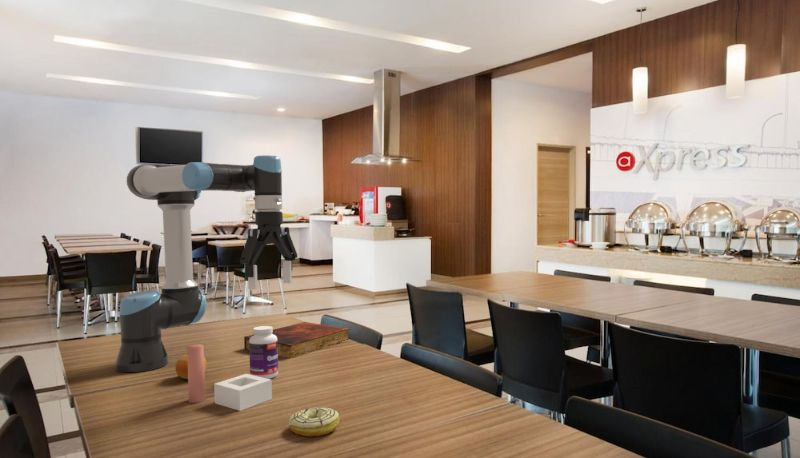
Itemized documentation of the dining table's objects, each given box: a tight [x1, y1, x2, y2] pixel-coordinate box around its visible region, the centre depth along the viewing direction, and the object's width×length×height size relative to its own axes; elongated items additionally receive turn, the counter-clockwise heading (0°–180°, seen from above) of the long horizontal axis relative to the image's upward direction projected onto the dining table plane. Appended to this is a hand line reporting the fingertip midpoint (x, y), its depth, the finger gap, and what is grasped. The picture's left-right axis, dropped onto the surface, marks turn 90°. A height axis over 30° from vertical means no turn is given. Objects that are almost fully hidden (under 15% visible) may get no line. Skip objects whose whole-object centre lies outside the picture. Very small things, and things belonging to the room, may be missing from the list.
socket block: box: [213, 373, 273, 412], centre depth 139 cm, size 10×10×5 cm
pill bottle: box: [248, 325, 279, 379], centre depth 159 cm, size 8×8×14 cm
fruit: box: [175, 354, 208, 380], centre depth 160 cm, size 8×8×8 cm
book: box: [243, 321, 351, 359], centre depth 198 cm, size 30×24×5 cm
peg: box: [186, 343, 206, 404], centre depth 140 cm, size 4×4×14 cm
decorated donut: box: [288, 406, 340, 437], centre depth 120 cm, size 10×11×4 cm
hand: (270, 286), depth 154 cm, fingers open, 13 cm apart
